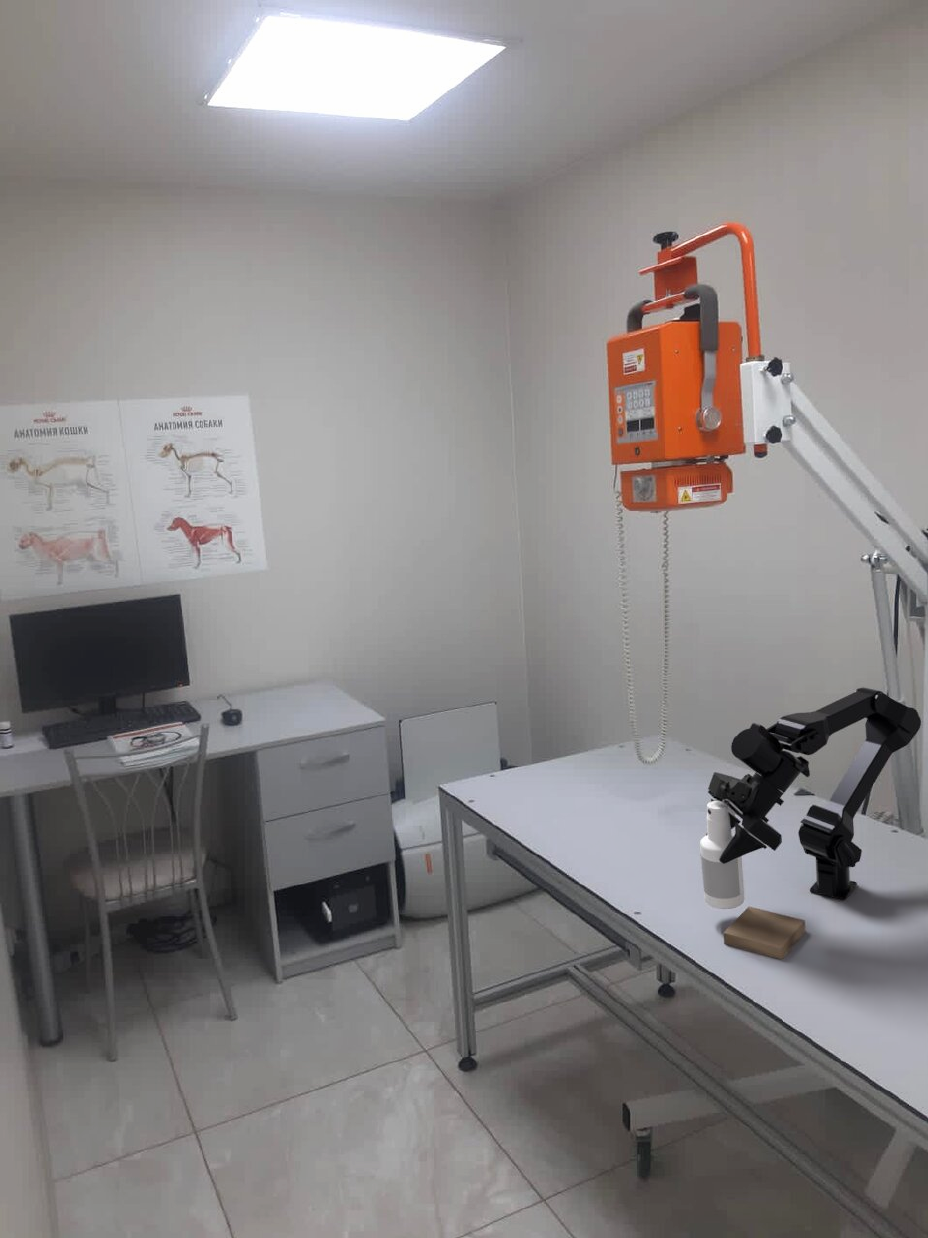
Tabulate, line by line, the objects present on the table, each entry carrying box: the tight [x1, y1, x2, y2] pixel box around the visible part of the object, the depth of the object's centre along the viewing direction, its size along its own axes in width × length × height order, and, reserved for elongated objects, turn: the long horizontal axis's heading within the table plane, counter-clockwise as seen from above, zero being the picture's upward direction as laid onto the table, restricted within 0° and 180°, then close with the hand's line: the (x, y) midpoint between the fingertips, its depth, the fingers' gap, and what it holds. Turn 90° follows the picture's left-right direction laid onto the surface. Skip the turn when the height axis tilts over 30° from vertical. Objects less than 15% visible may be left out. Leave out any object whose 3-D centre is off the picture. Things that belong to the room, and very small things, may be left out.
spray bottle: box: [699, 800, 745, 910], centre depth 169 cm, size 7×7×18 cm
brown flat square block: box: [723, 906, 806, 961], centre depth 165 cm, size 10×10×2 cm
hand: (713, 853), depth 169 cm, fingers closed on spray bottle, 7 cm apart
